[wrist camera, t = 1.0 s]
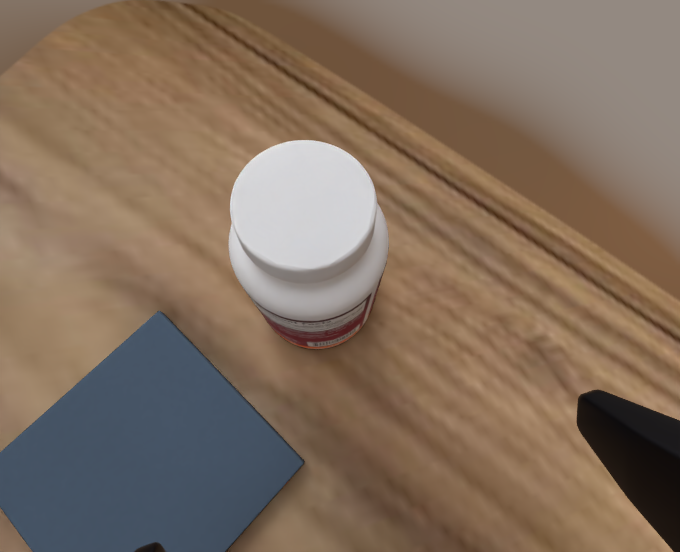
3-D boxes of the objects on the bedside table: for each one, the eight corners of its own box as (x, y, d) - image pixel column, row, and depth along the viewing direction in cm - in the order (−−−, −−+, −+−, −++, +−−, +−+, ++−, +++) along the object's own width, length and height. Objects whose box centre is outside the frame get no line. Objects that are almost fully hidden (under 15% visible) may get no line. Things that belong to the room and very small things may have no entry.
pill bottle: (300, 227, 25) (277, 89, 15) (392, 278, 24) (437, 170, 14) (239, 314, 23) (164, 229, 13) (335, 373, 22) (338, 333, 12)
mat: (305, 461, 21) (304, 462, 20) (125, 663, 18) (119, 671, 18) (163, 312, 23) (158, 309, 23) (-15, 472, 21) (-26, 474, 20)
